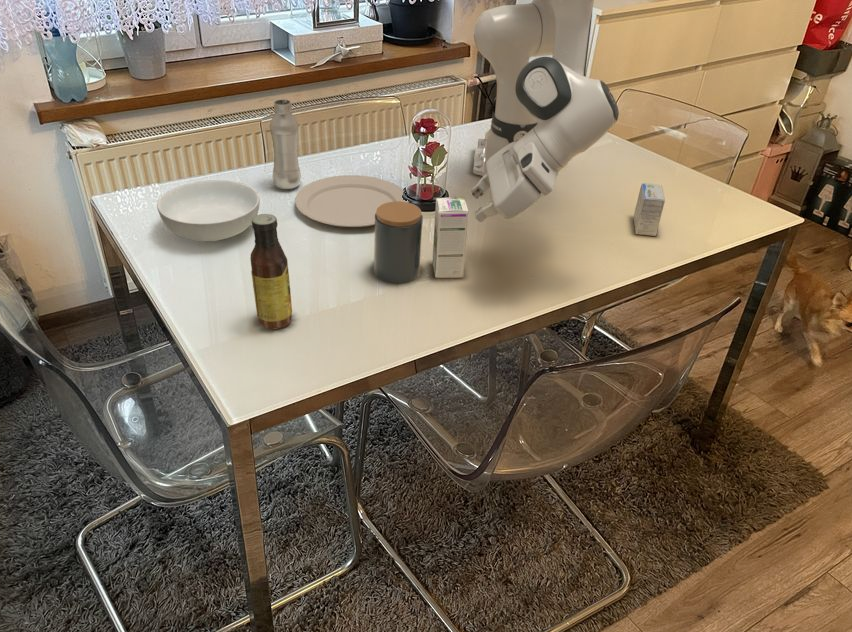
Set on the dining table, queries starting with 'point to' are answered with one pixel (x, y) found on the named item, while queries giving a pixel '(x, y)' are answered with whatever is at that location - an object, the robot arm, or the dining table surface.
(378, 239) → the canister
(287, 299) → the sauce bottle
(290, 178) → the plastic bottle
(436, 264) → the syrup box
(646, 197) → the medicine box
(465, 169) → the dining table surface
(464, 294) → the dining table surface
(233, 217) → the serving bowl
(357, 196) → the plate
